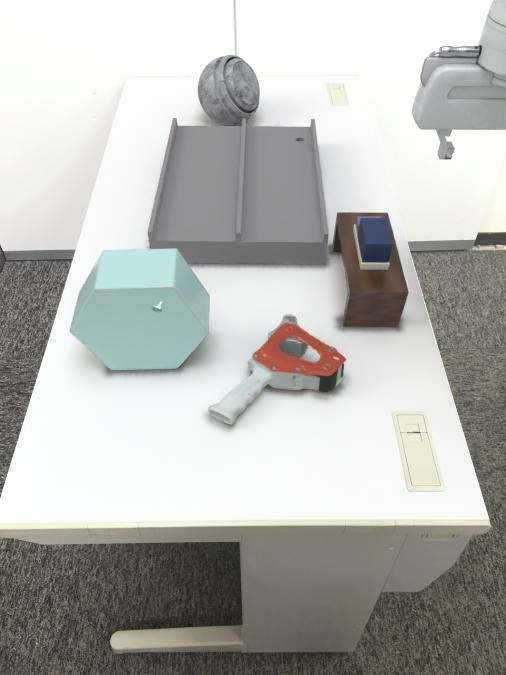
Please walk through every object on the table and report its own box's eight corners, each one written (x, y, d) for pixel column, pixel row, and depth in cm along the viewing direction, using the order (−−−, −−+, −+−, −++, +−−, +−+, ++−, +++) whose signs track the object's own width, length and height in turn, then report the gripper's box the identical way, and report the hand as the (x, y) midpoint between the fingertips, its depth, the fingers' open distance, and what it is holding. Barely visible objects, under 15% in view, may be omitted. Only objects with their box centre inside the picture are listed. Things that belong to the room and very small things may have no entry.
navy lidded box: (388, 269, 84) (394, 245, 81) (360, 269, 84) (365, 245, 81) (378, 229, 91) (384, 205, 87) (353, 229, 91) (357, 205, 87)
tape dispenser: (210, 433, 76) (351, 427, 75) (205, 415, 72) (354, 409, 71) (214, 335, 87) (337, 329, 86) (210, 314, 83) (339, 308, 82)
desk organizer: (152, 262, 97) (147, 232, 92) (176, 146, 123) (172, 117, 118) (324, 264, 97) (329, 234, 92) (312, 147, 123) (315, 118, 118)
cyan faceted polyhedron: (165, 349, 90) (229, 271, 77) (161, 386, 85) (229, 310, 72) (66, 314, 83) (118, 221, 70) (56, 353, 77) (111, 261, 65)
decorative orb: (243, 142, 124) (242, 76, 113) (189, 128, 128) (183, 64, 117) (268, 113, 133) (270, 50, 122) (217, 102, 137) (214, 39, 126)
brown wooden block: (379, 247, 100) (387, 212, 94) (398, 327, 87) (409, 292, 81) (331, 247, 100) (337, 212, 94) (343, 326, 87) (350, 292, 81)
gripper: (433, 57, 58) (405, 170, 68) (621, 58, 58) (564, 171, 68) (421, 34, 62) (397, 144, 72) (597, 35, 62) (547, 145, 72)
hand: (479, 157), depth 70 cm, fingers open, 8 cm apart
